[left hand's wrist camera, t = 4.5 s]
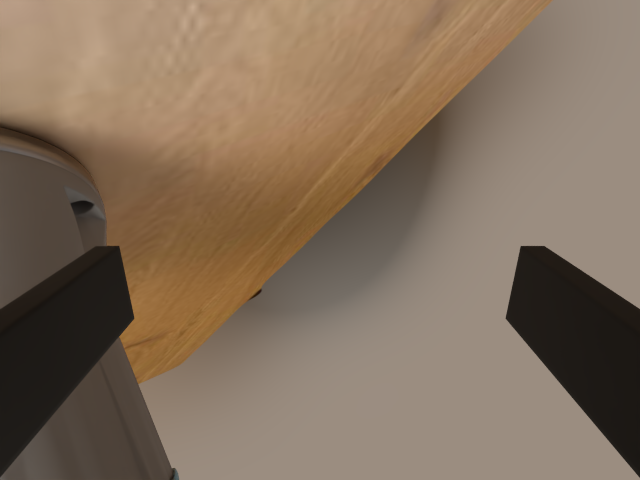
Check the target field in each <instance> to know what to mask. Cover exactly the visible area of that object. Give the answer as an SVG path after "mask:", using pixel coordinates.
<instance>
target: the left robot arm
mask: <svg viewBox="0 0 640 480" xmlns="http://www.w3.org/2000/svg"><path fill="white" fill-rule="evenodd" d="M133 319H134V314H133V310H132V305H131V300H130V295H129V291H128V286H127V281H126V276H125V272H124V267H123V262H122V257H121V252H120V248H119V246H106V215H105V209H104V204H103V202H102V199H101V197H100V194H99V192H98V190H97V187H96V185H95V183H94V180H93V179H92V177H91V175H90V174H89V172H88V171H87V170H86V169H85V168H84V167H83V166H82V165H81V164H80V163H79V162H78V161H77V160H76V159H74V158H73V157H71V156H70V155H69V154H67V153H65V152H64V151H62V150H60V149H58V148H57V147H55V146H53V145H51V144H48V143H46V142H44V141H42V140H39V139H37V138H34V137H31V136H29V135H26V134H22V133H19V132H16V131H12V130H9V129H5V128H0V480H179V476H178V473H177V470H176V469H175V468H171V465H170V463H169V460H168V458H167V455H166V453H165V450H164V448H163V445H162V443H161V440H160V438H159V435H158V433H157V430H156V428H155V425H154V423H153V420H152V418H151V415H150V413H149V410H148V408H147V405H146V403H145V400H144V398H143V395H142V393H141V390H140V388H139V385H138V383H137V380H136V378H135V375H134V373H133V370H132V368H131V365H130V363H129V360H128V358H127V355H126V353H125V350H124V348H123V345H122V343H121V340H120V338H119V336H120V335H121V334H122V333H123V331H124V330H125V329H126V328H127V327H128V325H129V324H130V323H131V322H132V321H133ZM506 319H507V321H508V322H509V323H510V324H511V325H512V327H513V328H514V329H515V330H516V331H517V332H518V334H519V335H520V336H521V337H522V338H523V340H524V341H525V342H526V343H527V344H528V346H529V347H530V348H531V349H532V350H533V351H534V353H535V354H536V355H537V356H538V357H539V359H540V360H541V361H542V362H543V363H544V365H545V366H546V367H547V368H548V369H549V370H550V372H551V373H552V374H553V375H554V376H555V378H556V379H557V380H558V381H559V382H560V384H561V385H562V386H563V387H564V388H565V389H566V391H567V392H568V393H569V394H570V395H571V397H572V398H573V399H574V400H575V401H576V403H577V404H578V405H579V406H580V407H581V408H582V410H583V411H584V412H585V413H586V414H587V416H588V417H589V418H590V419H591V420H592V421H593V423H594V424H595V425H596V426H597V427H598V429H599V430H600V431H601V432H602V433H603V435H604V436H605V437H606V438H607V439H608V440H609V442H610V443H611V444H612V445H613V446H614V448H615V449H616V450H617V451H618V452H619V454H620V455H621V456H622V457H623V458H624V459H625V461H626V462H627V463H628V464H629V465H630V467H631V468H632V469H633V470H634V471H635V472H636V474H637V475H638V476H639V477H640V309H639V308H637V307H636V306H634V305H633V304H631V303H630V302H628V301H627V300H625V299H624V298H622V297H621V296H619V295H618V294H616V293H615V292H613V291H612V290H610V289H609V288H607V287H606V286H604V285H602V284H601V283H599V282H598V281H596V280H595V279H593V278H592V277H590V276H589V275H587V274H586V273H584V272H583V271H581V270H580V269H578V268H577V267H575V266H574V265H572V264H571V263H569V262H568V261H566V260H565V259H563V258H562V257H560V256H559V255H557V254H555V253H554V252H552V251H551V250H549V249H548V248H546V247H545V246H521V248H520V253H519V257H518V262H517V267H516V272H515V277H514V281H513V286H512V291H511V295H510V300H509V305H508V310H507V314H506Z"/></svg>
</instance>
